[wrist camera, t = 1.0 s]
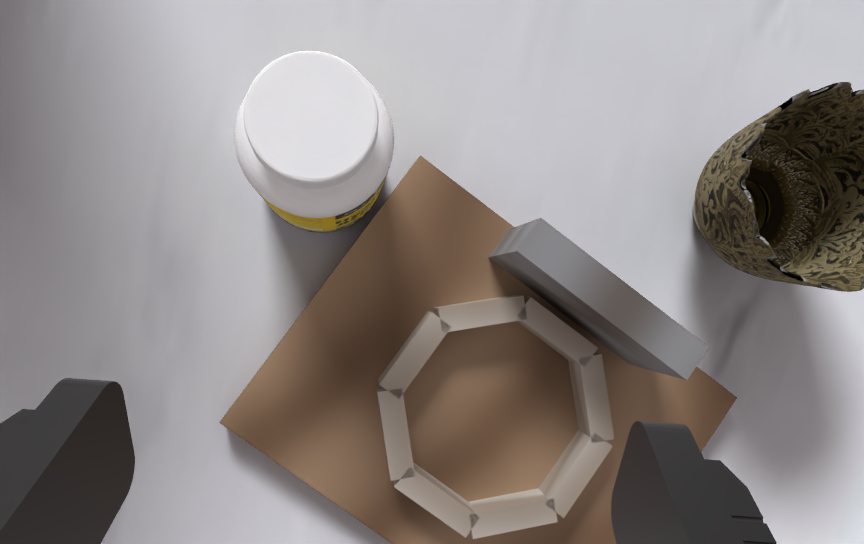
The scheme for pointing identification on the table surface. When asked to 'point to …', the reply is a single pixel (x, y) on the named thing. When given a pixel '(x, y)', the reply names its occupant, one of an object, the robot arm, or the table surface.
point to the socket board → (472, 378)
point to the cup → (791, 192)
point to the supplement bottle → (314, 140)
